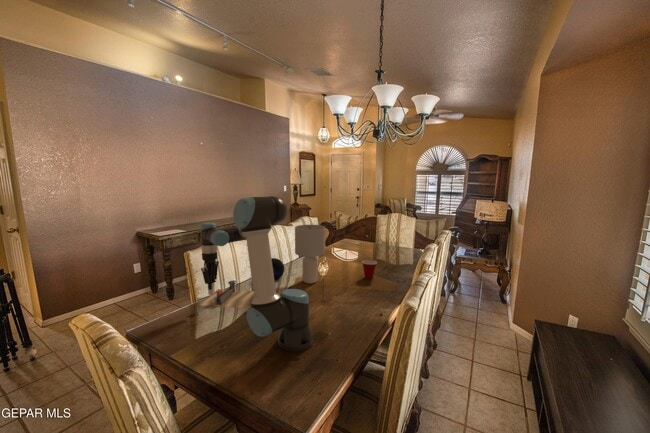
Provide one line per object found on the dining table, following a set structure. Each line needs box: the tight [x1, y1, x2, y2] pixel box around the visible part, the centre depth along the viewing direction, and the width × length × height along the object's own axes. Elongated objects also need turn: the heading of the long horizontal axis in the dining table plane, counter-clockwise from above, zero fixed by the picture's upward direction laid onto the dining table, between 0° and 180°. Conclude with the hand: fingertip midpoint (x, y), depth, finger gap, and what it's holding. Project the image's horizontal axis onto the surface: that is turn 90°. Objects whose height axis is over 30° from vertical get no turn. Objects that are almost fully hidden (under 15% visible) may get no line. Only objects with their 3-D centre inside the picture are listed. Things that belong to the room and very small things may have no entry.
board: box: [199, 289, 254, 309], centre depth 165 cm, size 26×22×1 cm
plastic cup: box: [361, 260, 378, 280], centre depth 202 cm, size 11×11×12 cm
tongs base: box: [215, 284, 236, 305], centre depth 164 cm, size 19×3×5 cm, turn 170°
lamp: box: [294, 224, 326, 285], centre depth 192 cm, size 20×20×39 cm
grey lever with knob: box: [219, 279, 237, 305], centre depth 165 cm, size 20×5×6 cm, turn 173°
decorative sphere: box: [271, 257, 285, 281], centre depth 197 cm, size 15×15×15 cm
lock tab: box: [216, 289, 223, 296], centre depth 159 cm, size 3×2×2 cm, turn 170°
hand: (211, 294), depth 151 cm, fingers closed
